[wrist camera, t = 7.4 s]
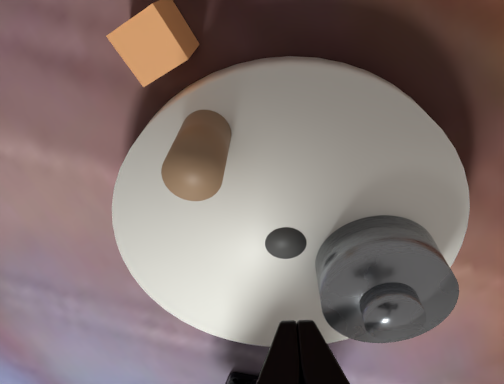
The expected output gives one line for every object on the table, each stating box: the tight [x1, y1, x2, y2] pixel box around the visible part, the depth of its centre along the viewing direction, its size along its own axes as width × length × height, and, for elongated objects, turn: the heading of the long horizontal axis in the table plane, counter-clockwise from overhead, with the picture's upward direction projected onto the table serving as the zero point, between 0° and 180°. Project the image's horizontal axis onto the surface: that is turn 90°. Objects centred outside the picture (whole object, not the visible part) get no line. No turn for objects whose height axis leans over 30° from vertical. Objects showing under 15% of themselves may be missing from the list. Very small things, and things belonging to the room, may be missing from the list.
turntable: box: [112, 56, 470, 347], centre depth 20 cm, size 20×20×6 cm
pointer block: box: [106, 0, 200, 87], centre depth 16 cm, size 2×2×3 cm
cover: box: [315, 215, 459, 343], centre depth 20 cm, size 7×7×4 cm
